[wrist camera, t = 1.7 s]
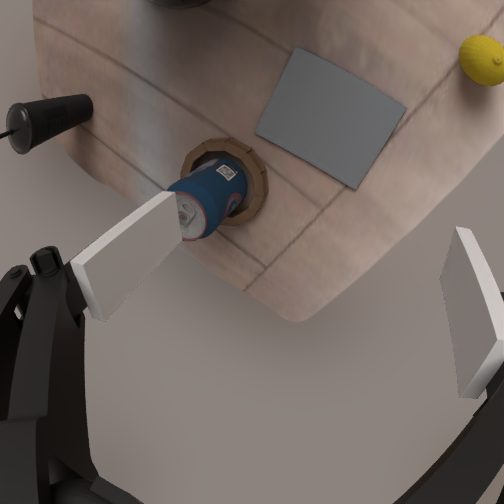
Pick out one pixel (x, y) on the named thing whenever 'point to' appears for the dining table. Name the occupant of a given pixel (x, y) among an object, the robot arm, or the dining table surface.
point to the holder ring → (250, 162)
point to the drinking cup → (44, 120)
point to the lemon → (482, 60)
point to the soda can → (208, 197)
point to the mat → (329, 117)
